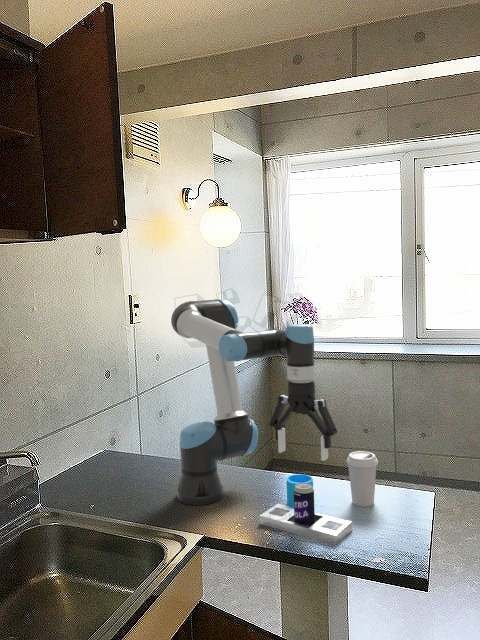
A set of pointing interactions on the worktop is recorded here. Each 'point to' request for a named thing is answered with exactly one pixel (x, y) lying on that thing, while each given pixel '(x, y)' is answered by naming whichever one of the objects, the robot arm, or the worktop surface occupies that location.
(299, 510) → the beverage can
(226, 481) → the worktop surface
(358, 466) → the coffee cup
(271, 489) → the worktop surface
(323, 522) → the white compartment tray
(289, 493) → the mug
